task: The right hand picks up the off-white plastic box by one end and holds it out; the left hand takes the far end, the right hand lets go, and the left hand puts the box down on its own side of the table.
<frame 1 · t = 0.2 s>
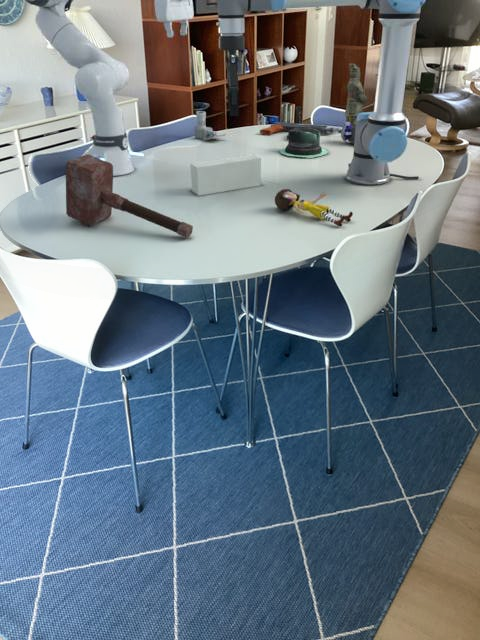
left hand: (177, 36, 183), 47 cm above the table, tool pointing down, fingers open, 8 cm apart
right hand: (233, 111, 172), 27 cm above the table, tool pointing down, fingers open, 13 cm apart
statue: (353, 131, 270), on the table
box: (226, 188, 194), on the table
green hat: (303, 152, 236), on the table
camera: (208, 139, 260), on the table
toy: (355, 144, 247), on the table
submachine gun: (295, 134, 265), on the table
figurine: (310, 216, 168), on the table
sledgehammer: (131, 228, 163), on the table
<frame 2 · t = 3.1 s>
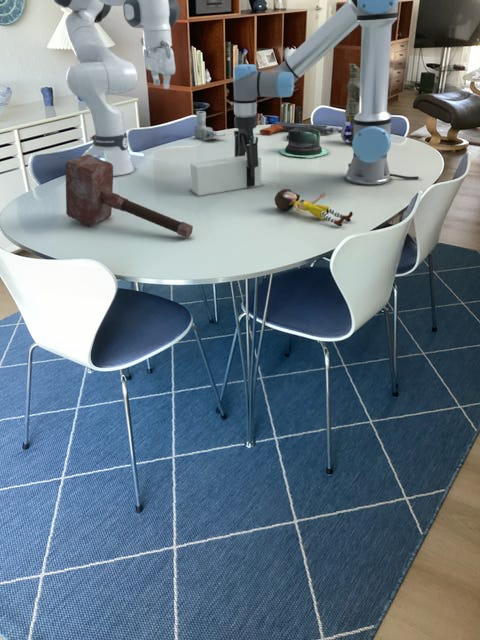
left hand: (161, 87, 184), 33 cm above the table, tool pointing down, fingers open, 8 cm apart
right hand: (246, 183, 197), 1 cm above the table, tool pointing down, fingers closed on box, 6 cm apart
box: (226, 188, 194), on the table, touching right hand
everything else where it was.
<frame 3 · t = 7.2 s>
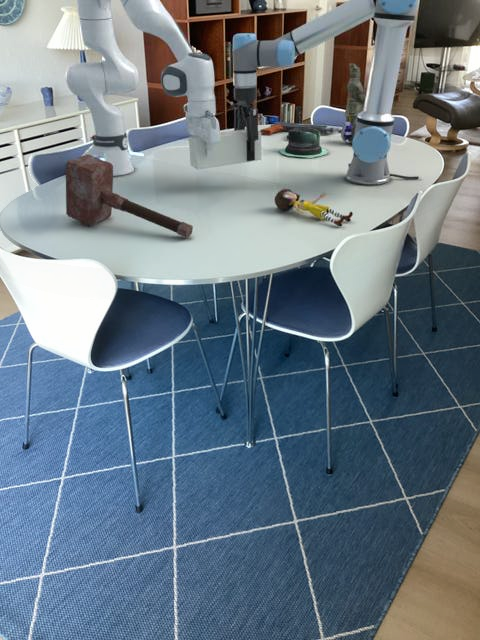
left hand: (204, 152, 185), 13 cm above the table, tool pointing down, fingers closed on box, 6 cm apart
right hand: (246, 158, 192), 9 cm above the table, tool pointing down, fingers closed on box, 6 cm apart
box: (226, 162, 190), point 9 cm above the table, touching left hand, right hand
everything else where it was.
when the right hand's fingers open (9 cm above the table, at t = 8.3 s): box stays where it is, held by the left hand.
when the left hand's fingers open (5 cm above the table, at t = 17.2 s): box drops 1 cm, on the table.
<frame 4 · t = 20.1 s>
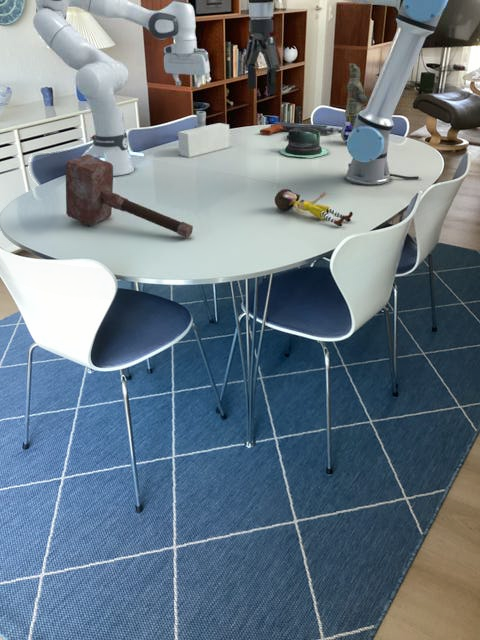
left hand: (188, 86, 223), 27 cm above the table, tool pointing down, fingers open, 8 cm apart
right hand: (261, 91, 184), 31 cm above the table, tool pointing down, fingers open, 13 cm apart
box: (205, 150, 241), on the table
everything else where it was.
at the end: box inside the target area (7.4 cm from its centre), on the table; the left hand is holding nothing; the right hand is holding nothing; box at rest at the end (0.0 cm/s) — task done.
